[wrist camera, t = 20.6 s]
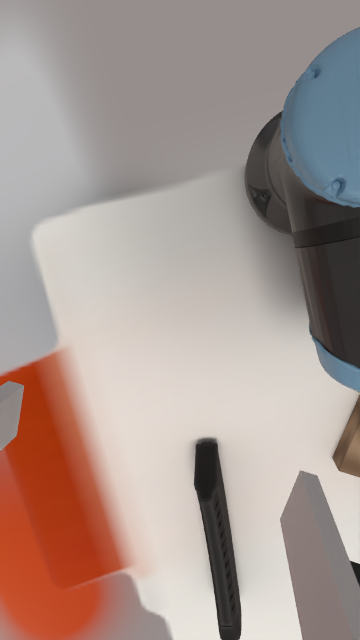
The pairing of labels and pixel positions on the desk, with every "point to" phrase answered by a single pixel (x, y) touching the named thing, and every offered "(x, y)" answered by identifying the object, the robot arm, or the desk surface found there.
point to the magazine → (218, 539)
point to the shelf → (350, 445)
